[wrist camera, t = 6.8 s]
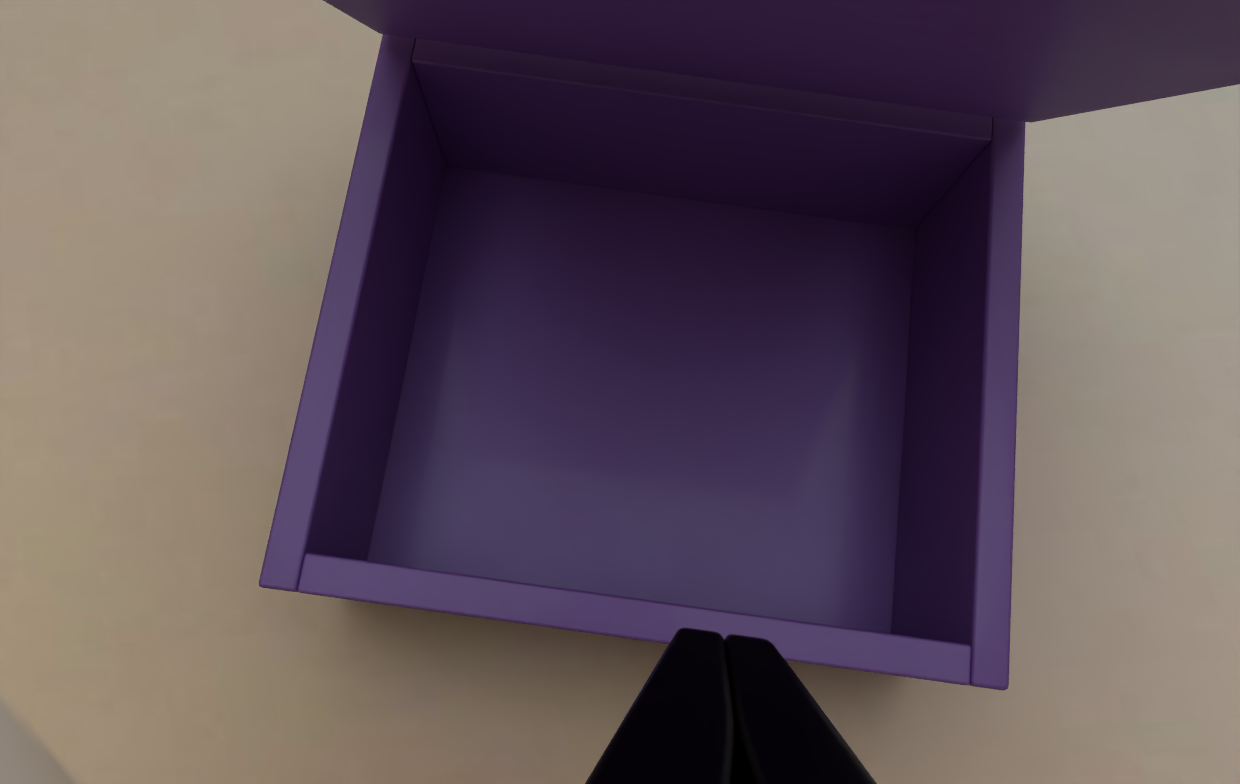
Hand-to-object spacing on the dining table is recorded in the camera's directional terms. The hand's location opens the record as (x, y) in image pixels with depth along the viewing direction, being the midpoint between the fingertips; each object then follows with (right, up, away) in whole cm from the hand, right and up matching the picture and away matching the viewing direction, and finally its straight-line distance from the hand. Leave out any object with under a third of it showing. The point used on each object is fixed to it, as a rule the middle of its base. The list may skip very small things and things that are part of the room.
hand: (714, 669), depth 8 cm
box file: (0, +2, +14) cm, 14 cm away
